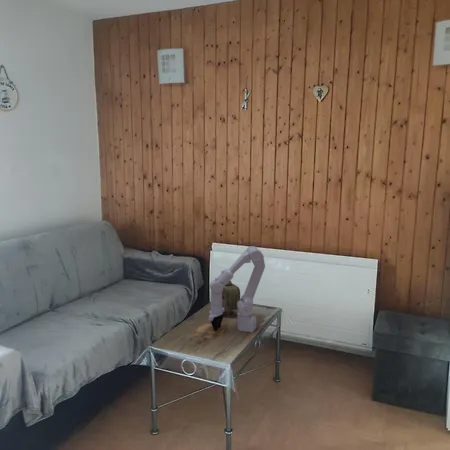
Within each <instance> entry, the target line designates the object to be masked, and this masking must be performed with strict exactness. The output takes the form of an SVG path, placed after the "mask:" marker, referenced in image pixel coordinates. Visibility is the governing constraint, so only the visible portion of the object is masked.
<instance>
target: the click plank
mask: <svg viewBox="0 0 450 450" xmlns="http://www.w3.org/2000/svg"><path fill="white" fill-rule="evenodd" d="M227 329H228V327H227V326H226V325H225V326H224V325H221V327H220V328H218V331H215V330H213V326H212V323H206V322H202V323H201V324H200V325H199V326H198V328H196V330H195V331H198V332H204V333H209V334H215V335H220V336H221V335H222V334H223V333H224V332H225V331H226V330H227Z"/></svg>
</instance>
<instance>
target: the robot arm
mask: <svg viewBox="0 0 450 450" xmlns="http://www.w3.org/2000/svg"><path fill="white" fill-rule="evenodd" d="M250 263H252V264H253V266H254V267H253V270H252V271H251V274H250V277H249V280H248V283H247V285H246V288H245V291H244V293H243V294H242V295H241V296H240V300H239V301H238V302H237V308H238V310H237V311H238V312H237V313H236V314H237V319H236V321H237V323H236V324H237V331H240V332H246V333H248V332H249V333H253V332H254V331H256V329H257V316H256V315H255V314H254V315H253V314H252V313H253V306H254V298H255V295H256V292H257V289H258V287H259V284H260V281H261V278H262V276H263V273H264V271H265V268H266V264H265V255H264V254H263V252H262V251H261V250H260V249H258V248H257V247H256V246H254V245H250V246H249V247H247V248H246V249H245V250H244V251H243V252H242V253H241V255H240V256H239V257H238V258H237V259H236V260H235V262H234V263H232V265H231V266H230V267H229V268H227V269H224V270H221V273H220V274H219V275H218V276H217V277H215V278H214V279H213V280H212V281H211V282H210V284H209V287H210V289H211V291H210V310H209V311H208V314H209V316H208V321H210V324H212V326H213V330H215V331H218V328H220V327H221V326H222V322H223V319H224V318H225V314H224V313H225V312H224V308H222V291H223V287H224V286H225V285H226V284H227V283H228V282H229V281H232V280H233V278H234V274H235V273H236V272H237V271H239V269H240V268H241V267H242V266H244V264H250Z"/></svg>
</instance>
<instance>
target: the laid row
mask: <svg viewBox="0 0 450 450" xmlns="http://www.w3.org/2000/svg"><path fill="white" fill-rule="evenodd" d="M190 336H195V337H201V338H206V339H212V340H216V339H218V338H219V337H221V335H216V334H210V333H205V332H199V331H196V330H195V331H193V332H192V333H191V334H190Z"/></svg>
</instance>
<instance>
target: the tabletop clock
mask: <svg viewBox="0 0 450 450" xmlns="http://www.w3.org/2000/svg"><path fill="white" fill-rule="evenodd" d="M240 299H241V290H240V287H239V286H237V285H236V284H234V283H233V282H232V280H230V281H229V282H228V283H227V284H226V285H225V286H224V287H223V291H222V308H224V312H223V313H226V312H227V315H226V319H230V315H233V313H234V311H239V309H238V308H237V302H238V301H239V300H240Z"/></svg>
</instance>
